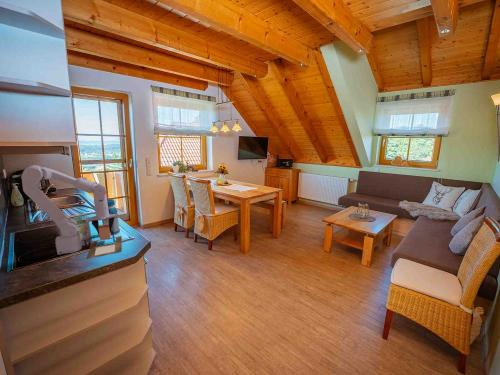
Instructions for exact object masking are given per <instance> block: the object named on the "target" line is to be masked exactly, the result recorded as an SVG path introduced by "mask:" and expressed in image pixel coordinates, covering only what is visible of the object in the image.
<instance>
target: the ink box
mask: <svg viewBox="0 0 500 375" xmlns="http://www.w3.org/2000/svg"><path fill="white" fill-rule="evenodd" d="M71 219H73V220H75V221H76V222H77V231H79V232H80V238H81V242H82V241H87V240H90V239H91V238H92V237H91V233H90V226H89V222H87V223H86V220H85V221H84V220H83V218H82V215H81V214H79V215H77V216H75V217H73V218H71ZM76 219H77V220H76Z"/></svg>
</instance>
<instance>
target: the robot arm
mask: <svg viewBox="0 0 500 375" xmlns="http://www.w3.org/2000/svg"><path fill="white" fill-rule="evenodd" d="M20 177H21V184H22V190H23V192H24V194H25V195H26V196H27V197H29V199H30V200H31V201H33V203H35V205H37V206H38V207H39V208H40V209H41V210H42V211H43V212H44V213H45V214H46V215H47V216H48V217H49V218H50V219H51V220H52V221H53V222H54V223H55V225H56V227H57V228H58V229H59V231H60V236H56V238H55V249H56V253H57V255H63V254H69V253H70V254H71V253H75V252H78V251H81V250H82V249H83V245H82V244H83V243H82V241H81V238H80V232H79V231H77V222H76V221H77V220H76V219H75V220H73V219H72V218H70V217H69V216H68V215H67V214H65V213H64V212H63V211H62V210H61V209H60V208H59V207H58V206H57V205H56V204H55V203H54V202H53V200H51V199H50V198H49V197H48V196H47V195H46V193H44V191H43V190H41V189H40V184H41V180H42V179H43V180H51V179H54V180H57V181H61V182H64V183H66V184H69V185H72V186H73V187H74V189H77V190H79V191H83V192H84V193H88V194H92V195H93V205H94V206H93V207H94V212H95V216H91V217H85V221H86V223H87V222H88V223H91V225H92V226H93V228H94V229H95V230H96V231H97V235H98V236H100V235H99V225H100V222H99V221H102V220H106V219H109V227H110V233H112V225H113V222H114V218H118V219H120V214H119V213H117V214H109V210H108V203H107V192H108V191H107V189H106V187H105V185H103V184H102V183H98V182H97V181H91V180H88V178H87V177H77V178H75V177H73V176H71V175H69V174H65V173H63V172H61V171H59V170H56V169H52V168H49V167H46V166H41V165H39V164H32V165H29V166H28V167H26V168H24V170H23V171H22V175H21V176H20Z"/></svg>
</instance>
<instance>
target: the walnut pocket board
mask: <svg viewBox="0 0 500 375" xmlns="http://www.w3.org/2000/svg"><path fill="white" fill-rule="evenodd" d="M110 239H111V240H112V239H115V242H113V243H108V244H107V243H106V244H102V245H98V242H100V241H101V242H102V241H106V240H110ZM122 239H123V238H122V235H119V236H114V237H113V236H112V237H110V238H108V239H102V240H100V239H97V240H92V241H91V243H90V245H89V250H88V252H87V256H86V260H90V259H94V258H98V257H104V256H109V255H114V254H119V253H122V252H123V250H122V249H123V248H122V245H123V244H122V243H123V241H122ZM114 244H115V252H112V253H107V254H102V255H98V256H94V255H95V251H96V248H98V247H104V246H109V245H114ZM97 245H98V246H97Z"/></svg>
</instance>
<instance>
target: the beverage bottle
mask: <svg viewBox="0 0 500 375" xmlns="http://www.w3.org/2000/svg"><path fill="white" fill-rule="evenodd" d="M107 203H108V210H109V214H118V208H117V207H116V206H115V205H116V201H115V199H113V198H108V199H107ZM101 221H102V225H103V224H109V219H106V220H101ZM120 233H121V229H120V224H119V218H114V222H113V225H112V233H111V236H115V235H119V234H120Z"/></svg>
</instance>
